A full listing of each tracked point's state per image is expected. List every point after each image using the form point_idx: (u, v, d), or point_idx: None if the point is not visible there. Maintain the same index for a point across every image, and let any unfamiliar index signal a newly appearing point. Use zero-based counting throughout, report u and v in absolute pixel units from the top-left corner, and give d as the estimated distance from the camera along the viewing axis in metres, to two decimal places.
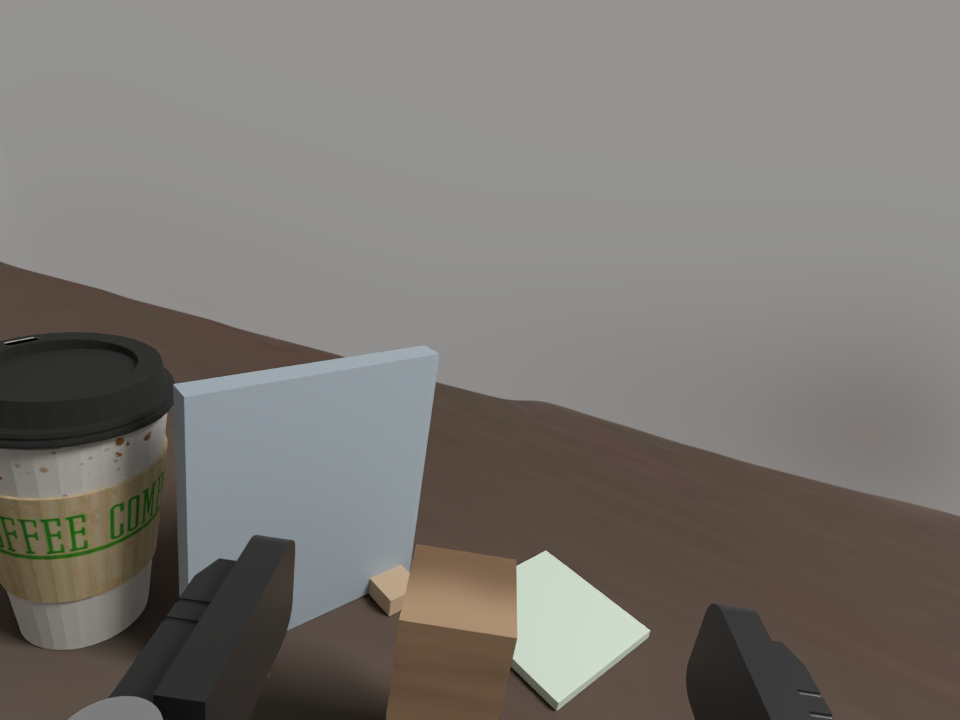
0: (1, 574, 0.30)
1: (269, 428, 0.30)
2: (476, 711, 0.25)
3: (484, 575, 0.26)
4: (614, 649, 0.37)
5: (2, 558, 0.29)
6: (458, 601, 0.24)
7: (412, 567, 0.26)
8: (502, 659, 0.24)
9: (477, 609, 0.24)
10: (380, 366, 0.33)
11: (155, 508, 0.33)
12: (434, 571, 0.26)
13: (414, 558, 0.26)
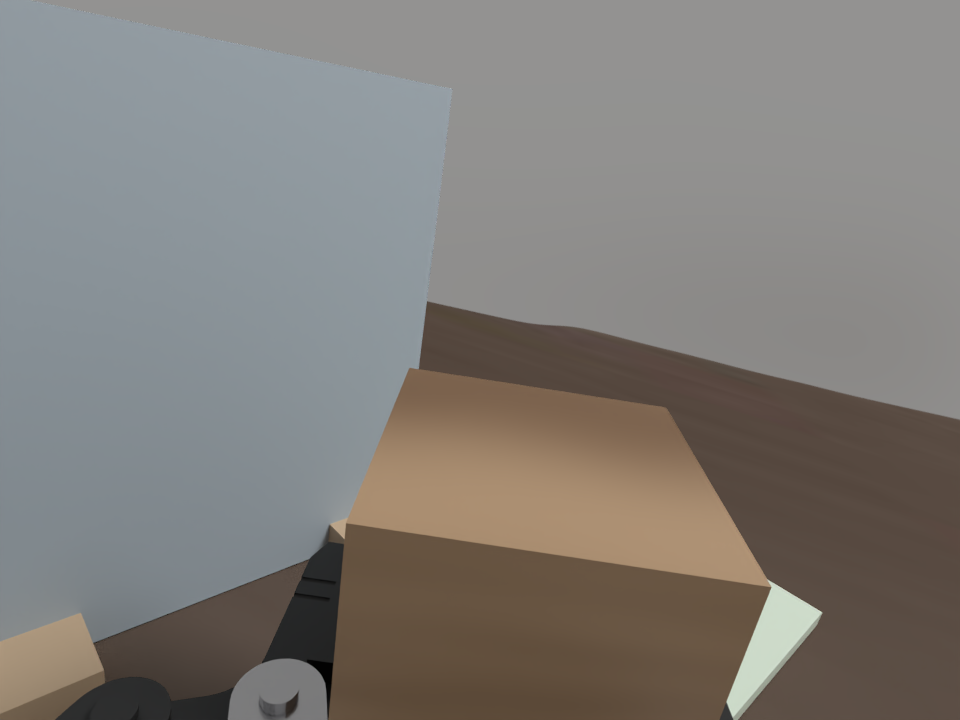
0: None
1: (70, 138, 0.13)
2: None
3: (598, 430, 0.09)
4: (773, 645, 0.20)
5: None
6: (542, 479, 0.08)
7: (398, 405, 0.09)
8: (706, 663, 0.07)
9: (608, 502, 0.08)
10: (335, 71, 0.16)
11: None
12: (460, 416, 0.09)
13: (404, 390, 0.10)
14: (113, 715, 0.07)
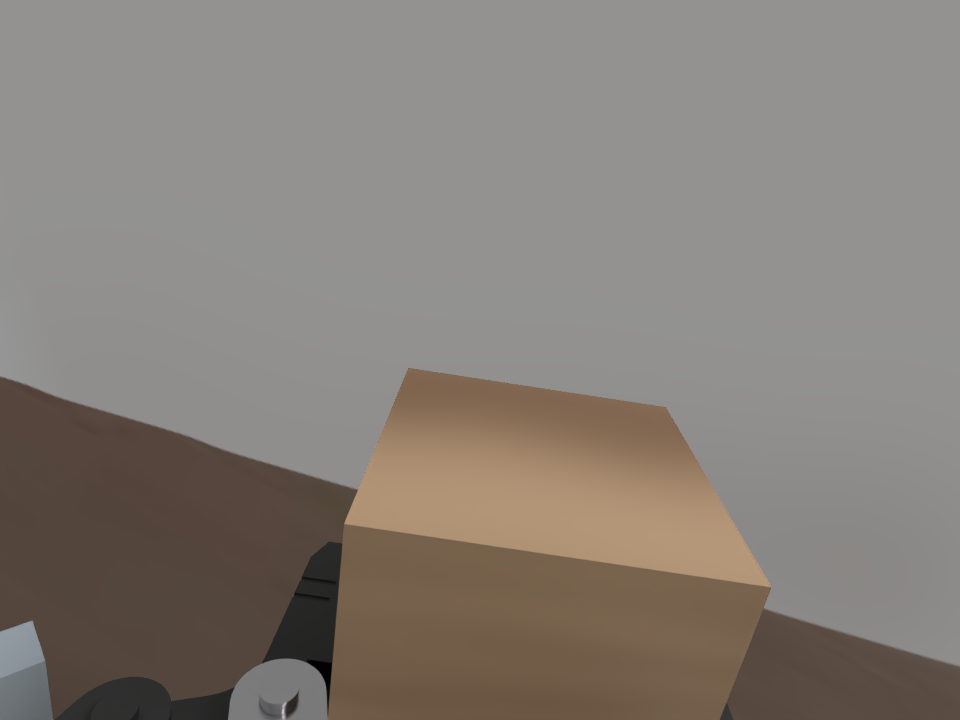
0: None
1: None
2: None
3: (598, 430, 0.09)
4: None
5: None
6: (541, 480, 0.08)
7: (397, 405, 0.09)
8: (706, 664, 0.07)
9: (607, 502, 0.07)
10: None
11: None
12: (459, 416, 0.09)
13: (403, 390, 0.10)
14: (113, 715, 0.07)
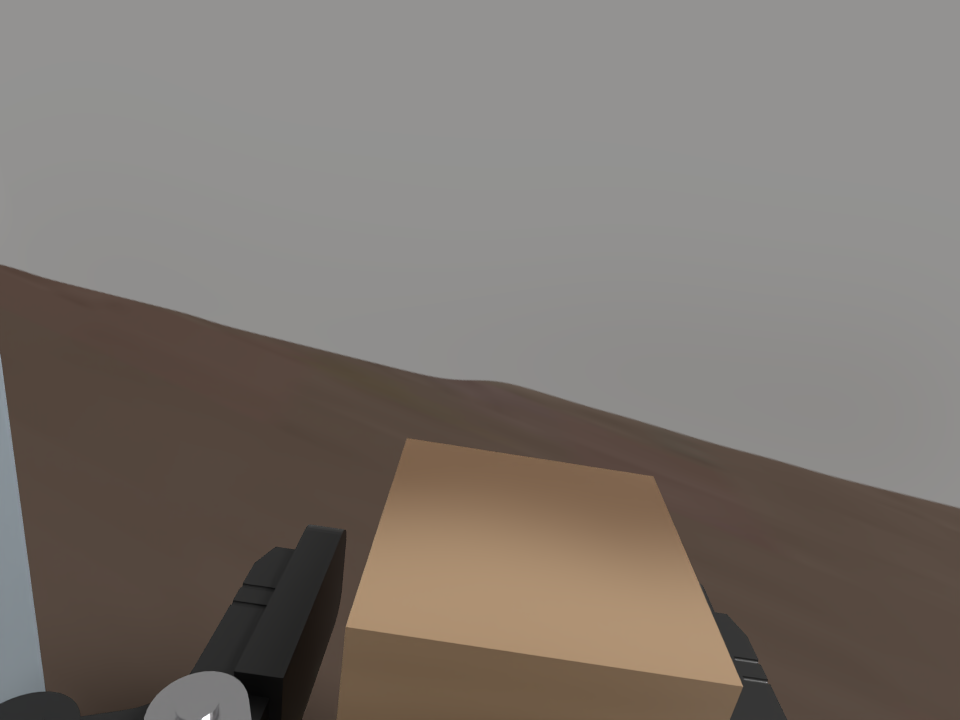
0: None
1: None
2: None
3: (587, 507, 0.10)
4: None
5: None
6: (531, 568, 0.08)
7: (395, 484, 0.10)
8: None
9: (592, 593, 0.08)
10: None
11: None
12: (455, 494, 0.10)
13: (401, 465, 0.10)
14: None
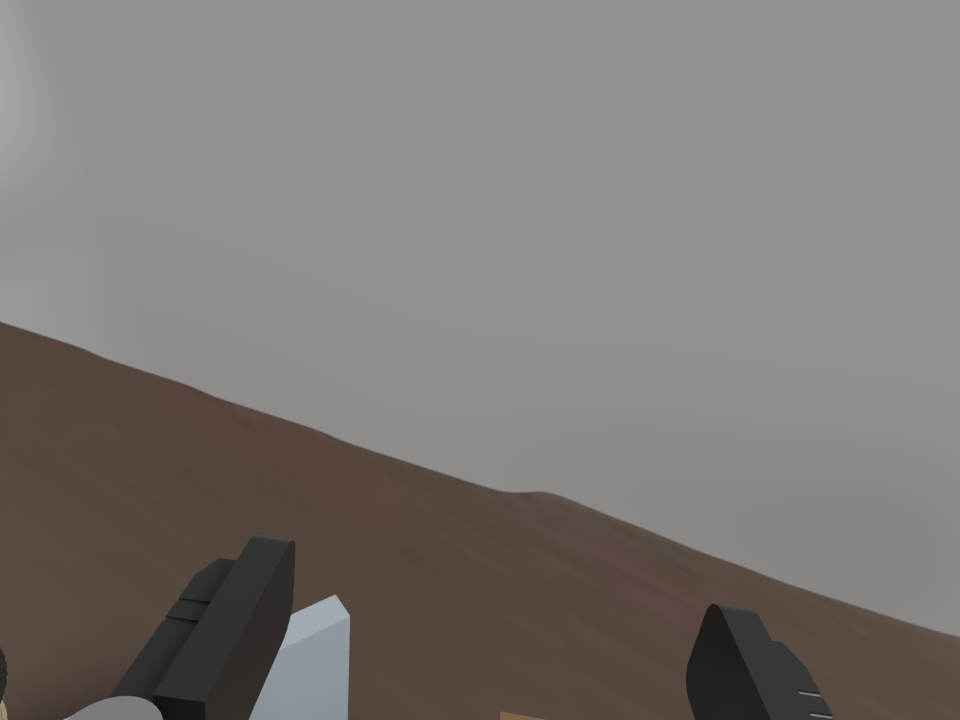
0: None
1: None
2: None
3: None
4: None
5: None
6: None
7: None
8: None
9: None
10: None
11: None
12: None
13: None
14: None
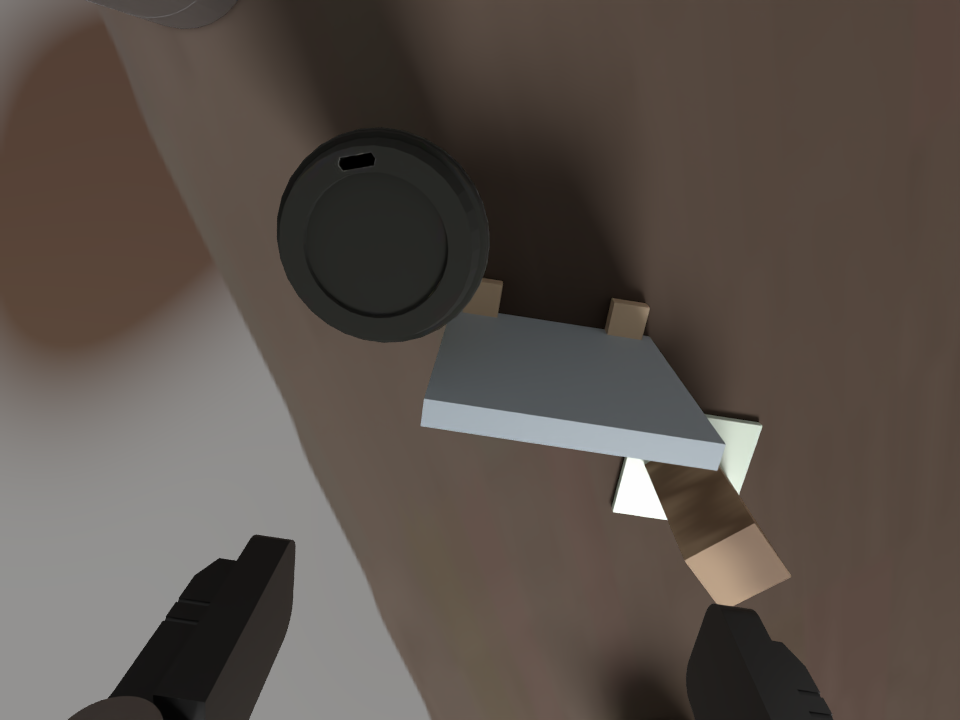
0: None
1: None
2: None
3: (759, 571, 0.36)
4: None
5: None
6: (725, 573, 0.36)
7: (730, 537, 0.35)
8: None
9: (727, 585, 0.36)
10: None
11: None
12: (738, 548, 0.35)
13: (740, 531, 0.35)
14: None
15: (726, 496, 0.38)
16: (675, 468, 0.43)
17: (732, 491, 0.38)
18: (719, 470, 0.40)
